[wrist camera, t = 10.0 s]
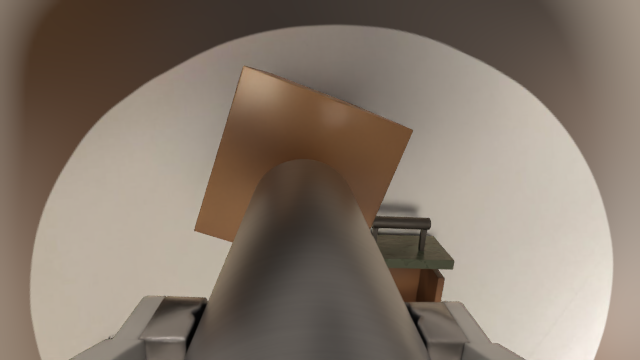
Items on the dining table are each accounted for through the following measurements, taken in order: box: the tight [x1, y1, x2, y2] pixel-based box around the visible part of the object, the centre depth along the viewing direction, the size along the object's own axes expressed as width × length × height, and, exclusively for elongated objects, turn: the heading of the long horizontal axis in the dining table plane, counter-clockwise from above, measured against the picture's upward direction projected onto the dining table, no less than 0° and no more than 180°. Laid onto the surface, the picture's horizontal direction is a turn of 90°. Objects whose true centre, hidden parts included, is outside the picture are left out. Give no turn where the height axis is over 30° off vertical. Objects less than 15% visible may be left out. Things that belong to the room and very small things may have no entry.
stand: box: [194, 66, 413, 242], centre depth 33 cm, size 11×11×22 cm
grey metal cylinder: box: [184, 159, 431, 360], centre depth 11 cm, size 5×5×13 cm
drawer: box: [371, 216, 454, 302], centre depth 45 cm, size 19×12×7 cm, turn 177°
